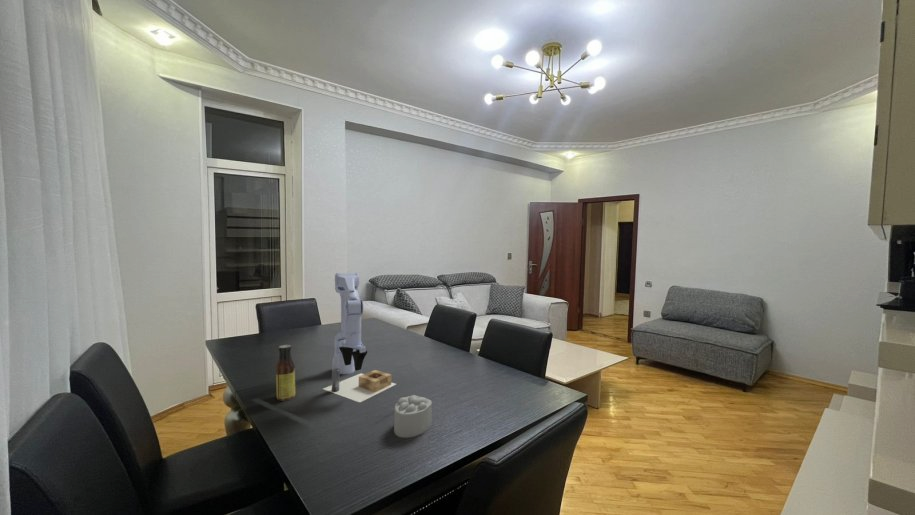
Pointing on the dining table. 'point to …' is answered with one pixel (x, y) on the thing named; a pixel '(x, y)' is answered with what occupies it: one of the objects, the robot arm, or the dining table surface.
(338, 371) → the metal peg
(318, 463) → the dining table surface
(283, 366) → the sauce bottle
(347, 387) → the board
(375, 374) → the square wooden ring
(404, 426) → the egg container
